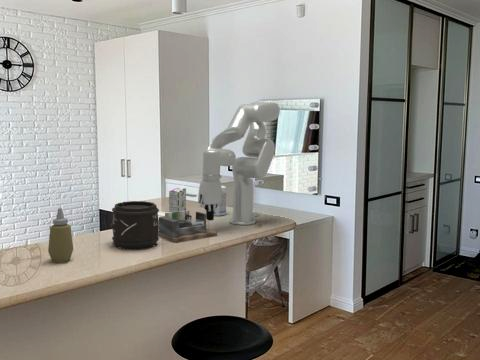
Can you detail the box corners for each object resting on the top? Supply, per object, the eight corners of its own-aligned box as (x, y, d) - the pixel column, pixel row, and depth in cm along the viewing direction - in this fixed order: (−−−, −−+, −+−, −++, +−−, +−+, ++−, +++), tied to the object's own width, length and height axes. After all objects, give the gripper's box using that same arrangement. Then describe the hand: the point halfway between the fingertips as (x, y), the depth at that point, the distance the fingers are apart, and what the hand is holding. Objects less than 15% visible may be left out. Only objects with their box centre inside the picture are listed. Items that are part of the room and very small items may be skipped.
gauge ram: (193, 225, 210) (194, 210, 209) (205, 229, 203) (206, 213, 202) (180, 227, 205) (180, 212, 204) (191, 232, 198) (192, 215, 197)
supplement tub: (224, 212, 251) (224, 185, 249) (227, 216, 242) (228, 187, 240) (206, 212, 249) (206, 185, 247) (208, 216, 239) (209, 187, 238)
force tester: (195, 228, 213) (195, 208, 212) (217, 235, 201) (217, 214, 199) (154, 234, 199) (154, 213, 198) (174, 242, 187) (175, 220, 186)
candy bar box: (176, 221, 226) (176, 187, 224) (186, 222, 225) (186, 188, 223) (168, 226, 216) (168, 190, 213) (178, 227, 215) (179, 191, 213)
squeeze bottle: (52, 256, 164) (51, 206, 162) (76, 256, 165) (75, 206, 163) (45, 263, 156) (43, 210, 154) (70, 264, 157) (69, 210, 155)
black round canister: (107, 240, 188) (107, 201, 186) (152, 237, 195) (152, 199, 193) (113, 252, 172) (113, 210, 170) (162, 248, 179) (162, 207, 177)
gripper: (219, 176, 213) (218, 216, 215) (191, 178, 203) (191, 220, 205) (229, 178, 207) (228, 219, 209) (202, 180, 197) (201, 223, 200)
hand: (210, 219), depth 207 cm, fingers closed
